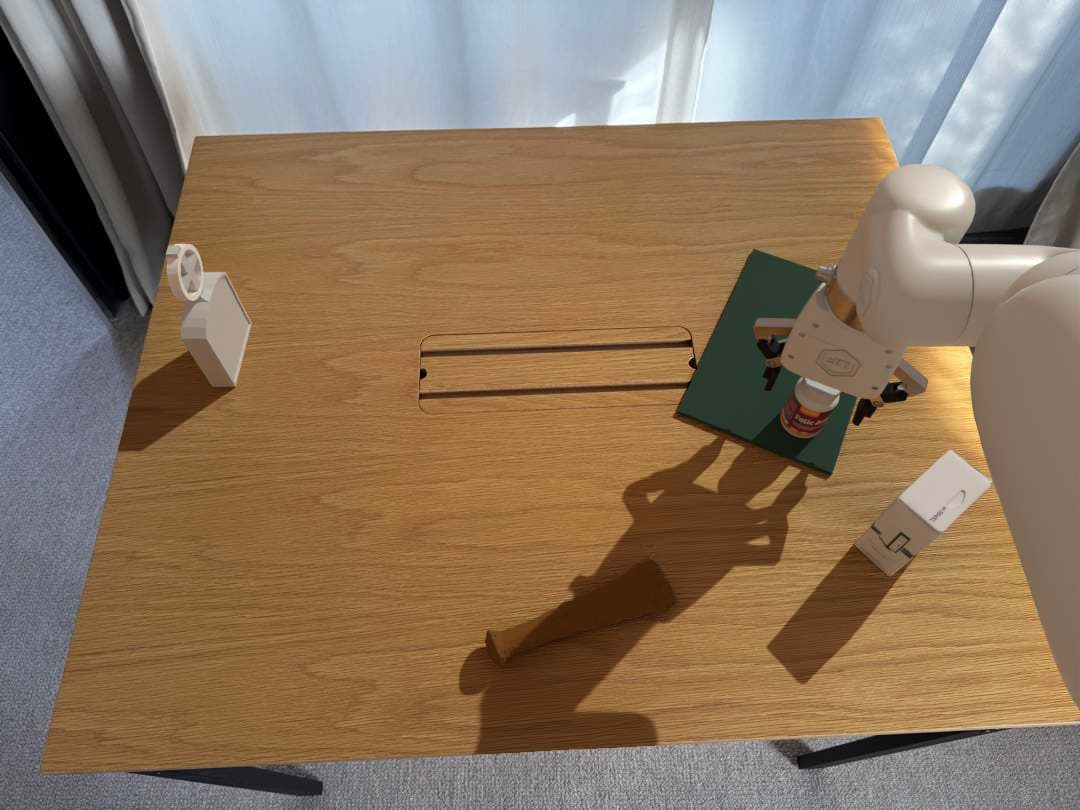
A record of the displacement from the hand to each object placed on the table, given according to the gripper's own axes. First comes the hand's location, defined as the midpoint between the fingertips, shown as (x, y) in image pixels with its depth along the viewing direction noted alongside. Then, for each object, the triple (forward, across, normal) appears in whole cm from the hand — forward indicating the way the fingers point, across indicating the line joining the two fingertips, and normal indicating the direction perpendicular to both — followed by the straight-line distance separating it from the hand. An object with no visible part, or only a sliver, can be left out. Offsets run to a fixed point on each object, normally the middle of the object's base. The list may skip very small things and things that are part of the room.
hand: (813, 397), depth 83 cm
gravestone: (+6, -64, -21) cm, 68 cm away
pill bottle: (+5, 0, 0) cm, 5 cm away
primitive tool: (+6, -13, -31) cm, 34 cm away
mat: (+5, -4, +9) cm, 11 cm away
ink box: (+6, +13, -9) cm, 17 cm away
